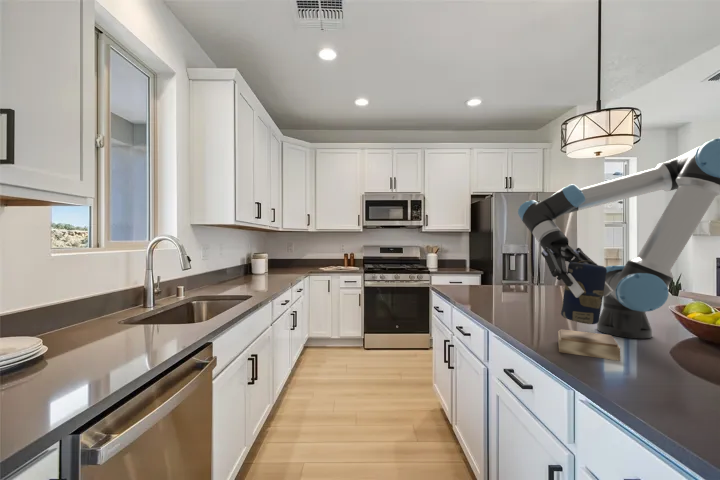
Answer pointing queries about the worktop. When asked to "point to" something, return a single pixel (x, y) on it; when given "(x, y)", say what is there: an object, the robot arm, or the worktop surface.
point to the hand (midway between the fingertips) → (594, 294)
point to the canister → (585, 293)
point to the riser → (588, 344)
